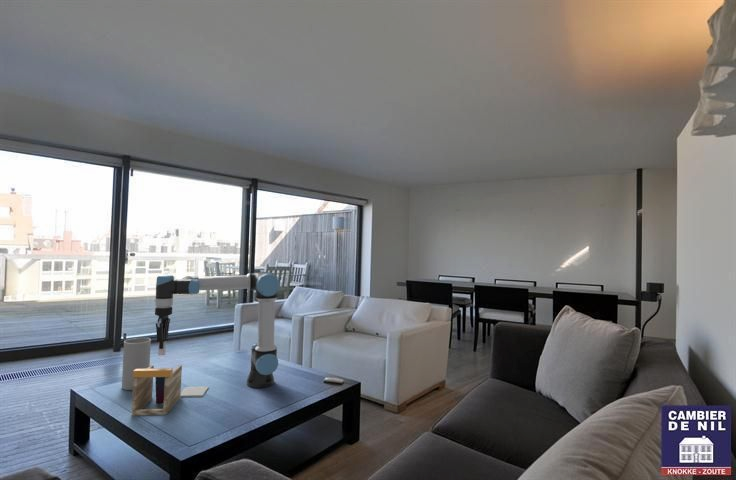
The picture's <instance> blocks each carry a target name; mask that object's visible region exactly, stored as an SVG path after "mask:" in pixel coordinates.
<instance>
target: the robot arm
mask: <svg viewBox="0 0 736 480" xmlns="http://www.w3.org/2000/svg"><path fill="white" fill-rule="evenodd" d="M243 289H244V290H245V289H247V290H248V291H255V299H256V301H258V303H257V304H258V308H257V309H258V311H257V313H258V315H257V316H258V317H257V318H258V319H257V323H258V324H257V342H256V343H253V344H252V345H251V349H250V350H251V354H250V355H251V356H250V371H249V374H248V376H247V379H246V386H247V387H249V388H256V389H263V388H264V389H265V388H267V387H272V385H274V383H275V377H274V372H275V371H277V369H278V367H279V358H278V354H277V353H278V352H277V351H278V347H277V345H276V344H275V317H276V316H275V310H276V309H275V308H276V307H275V305H276V304H275V302H276V300H277V299H278V291H279V289H280V281H279V279H278V277H277V276H276V275H275V274H273V273H270V272H268V271H260V272H253V273H249V272H248V273H247V274H244V275H242V274H241V275H239V274H238V275H214V276H213V275H211V276H210V275H209V276H205V275H204V276H189V275H188V276H184V277H183V278H181V279H178V278H177V279H176V278H175V277H174V275H172V274H162V275H158V276H156V283H155V299H154V302H155V303H154V304H155V308H154V315H155V316H158V319H157V322H156V323H155V329H156V343H158V350H157V355H158V356H165V355H166V345H167V342H168V340H169V339H168V338H169V329H170V324H171V323H170V322H171V318H169V316H171V315H172V314H173V305H174V295H192V296H193V295H198V294H199V293H200V291H219V290H220V291H223V290H243ZM166 341H167V342H166Z"/></svg>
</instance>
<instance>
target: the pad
mask: <svg viewBox="0 0 736 480" xmlns="http://www.w3.org/2000/svg"><path fill="white" fill-rule="evenodd" d="M182 389H183V390H181V395H180V398H201V397H202V398H203V397H204V395H205V394H206V392H207V391H208V390H209V386H185V387H184V388H182Z"/></svg>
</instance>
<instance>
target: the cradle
mask: <svg viewBox="0 0 736 480" xmlns="http://www.w3.org/2000/svg"><path fill="white" fill-rule="evenodd" d="M154 366H155V365H150V366H149V367H148V368H147V369H155V368H154ZM182 370H183V365H182V364H179V365H177V367H175V368H174V369H173V373H172V376H171V377H166V378H165V385H164V403H163V408H144V407H145V406H146V405H147V404H148V403H149V402H150V401H151V400H152V399H153V386H154V377H135V378H134V379H133V390H132V396H131V397H132V399H131V416H155V415H156V416H158V415H163V416H164V415H167V414H169V412H170V411H171V410H172V409H173V407H174V406H175V405H176V404H177V403H178V401H179V400H180V399H181V397H180V395H181V392H182V390H181V389H182V373H183V372H182ZM143 408H144V409H143Z"/></svg>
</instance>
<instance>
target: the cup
mask: <svg viewBox="0 0 736 480" xmlns="http://www.w3.org/2000/svg"><path fill="white" fill-rule="evenodd" d="M154 378H155V403H156V404H164V385H165V378H166V377H154Z"/></svg>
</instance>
